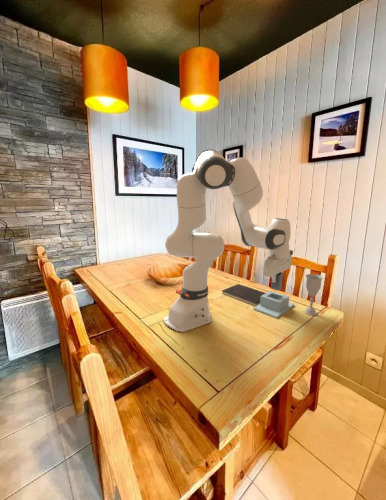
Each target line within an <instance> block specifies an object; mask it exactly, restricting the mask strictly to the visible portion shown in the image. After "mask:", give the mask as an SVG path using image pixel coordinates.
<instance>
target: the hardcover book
mask: <svg viewBox="0 0 386 500" xmlns="http://www.w3.org/2000/svg"><path fill="white" fill-rule="evenodd" d="M221 292H222V294H223V295H225V296H229V297H230V298H233V299H236V300H239V301H241V302H244V303H246V304H249V305H251V306H254V307H256V306H257V305H259V304H260V298H261V296H262V295H264V294H266V293H267V292H264V291H261V290H259V289H255V288H252V287H249V286H246V285H242V284H240V283H238V284H235V285H232V286H229V287H227V288H225V289H222V290H221Z"/></svg>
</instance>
